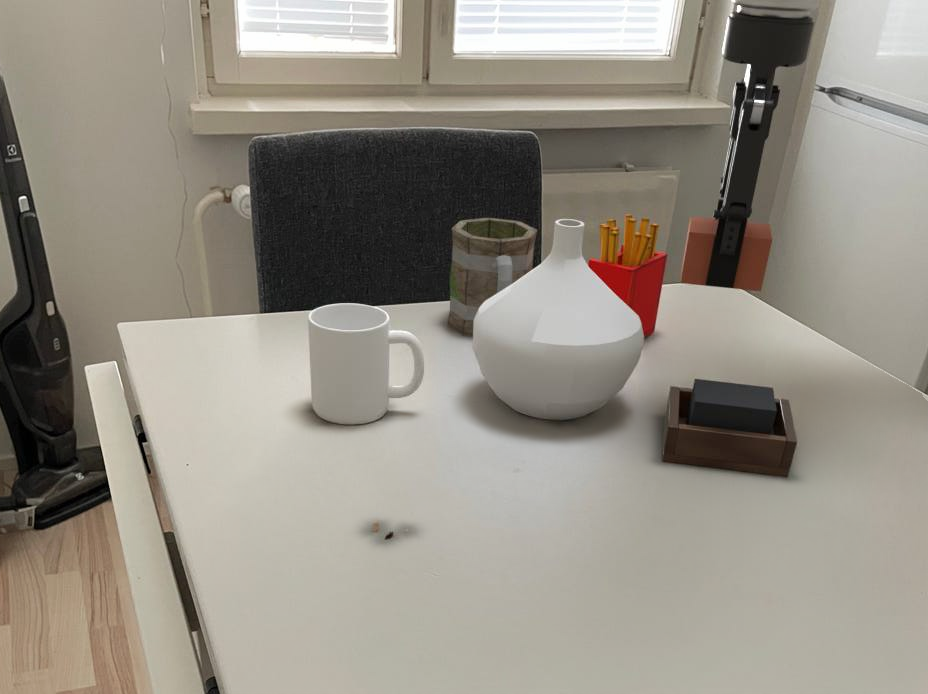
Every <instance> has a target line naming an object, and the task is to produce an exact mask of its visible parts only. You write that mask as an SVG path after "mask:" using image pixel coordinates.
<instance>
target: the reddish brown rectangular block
mask: <svg viewBox="0 0 928 694" xmlns="http://www.w3.org/2000/svg"><path fill="white" fill-rule="evenodd" d="M717 223H718V219H715V218H706V217H696V216H690V217H689V222H688V227H687V228H688V229H687V234H686V240H685V245H684V251H683V258H682V263H681V271H680V281H679V282H680V283H679V284H684V285H695V286H706V279H707V274H708V269H709V264H710V259H711V254H712V249H713V243H714V238H715V233H716V228H717ZM772 243H773V234H772V229H771V224H770V223H762V222H752V221H747V225H746V230H745V234H744V239H743V244H742V249H741V253H740V258H739V263H738V267H737V272H736V277H735V282H734V286H733V288H732V289H735V290H745V291H756V292H762V288H763V284H764V280H765V275H766V271H767V266H768V261H769V257H770V253H771V248H772ZM706 287H707V286H706ZM713 287H715V286H713ZM715 288H716V287H715Z"/></svg>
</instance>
